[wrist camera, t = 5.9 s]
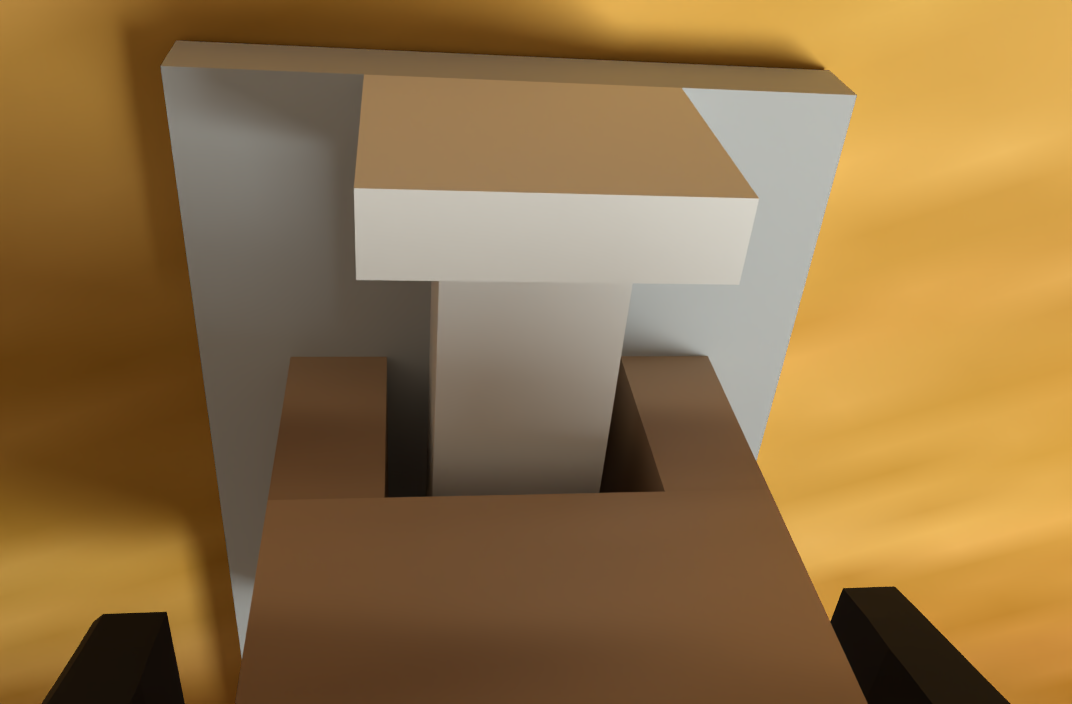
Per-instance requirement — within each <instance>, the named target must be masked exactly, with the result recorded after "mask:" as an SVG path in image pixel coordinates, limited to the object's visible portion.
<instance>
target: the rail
mask: <svg viewBox="0 0 1072 704" xmlns="http://www.w3.org/2000/svg"><path fill="white" fill-rule="evenodd" d="M160 67H161V74H162V81H163V89H164V96H165V103H166V110H167V118H168V125H169V132H170V140H171V147H172V154H173V161H174V169H175V176H176V183H177V191H178V198H179V205H180V212H181V220H182V227H183V234H184V242H185V249H186V256H187V263H188V271H189V278H190V285H191V293H192V300H193V307H194V315H195V322H196V329H197V336H198V344H199V351H200V358H201V366H202V373H203V380H204V387H205V395H206V402H207V409H208V417H209V424H210V431H211V438H212V446H213V453H214V460H215V468H216V475H217V482H218V489H219V497H220V504H221V511H222V519H223V526H224V533H225V541H226V548H227V555H228V562H229V570H230V577H231V584H232V592H233V599H234V606H235V613H236V621H237V628H238V635H239V643H240V650H241V657H242V656H243V650H244V644H245V638H246V631H247V625H248V619H249V613H250V607H251V600H252V594H253V588H254V582H255V575H256V569H257V563H258V557H259V551H260V544H261V538H262V532H263V526H264V520H265V513H266V507H267V501H268V495H269V488H270V482H271V476H272V470H273V464H274V457H275V451H276V445H277V439H278V432H279V426H280V420H281V414H282V408H283V401H284V395H285V389H286V383H287V377H288V370H289V364H290V358H291V357H387V418H388V498H389V497H435V496H481V495H527V494H573V493H599V491H600V485H601V479H602V473H603V466H604V460H605V454H606V448H607V441H608V435H609V429H610V422H611V416H612V410H613V404H614V397H615V391H616V385H617V378H618V372H619V366H620V360H621V356H708V357H709V360H710V362H711V364H712V366H713V368H714V370H715V373H716V375H717V377H718V379H719V381H720V383H721V386H722V388H723V390H724V392H725V394H726V397H727V399H728V401H729V403H730V405H731V407H732V410H733V412H734V414H735V416H736V418H737V420H738V423H739V425H740V427H741V429H742V431H743V433H744V436H745V438H746V440H747V442H748V444H749V447H750V449H751V451H752V453H753V455H754V457H755V460H757V457H758V453H759V449H760V446H761V442H762V438H763V435H764V431H765V428H766V424H767V420H768V417H769V413H770V409H771V406H772V402H773V398H774V395H775V391H776V387H777V384H778V380H779V377H780V373H781V369H782V366H783V362H784V358H785V355H786V351H787V347H788V344H789V340H790V337H791V333H792V329H793V326H794V322H795V318H796V315H797V311H798V307H799V304H800V300H801V297H802V293H803V289H804V286H805V282H806V278H807V275H808V271H809V267H810V264H811V260H812V257H813V253H814V249H815V246H816V242H817V238H818V235H819V231H820V227H821V224H822V220H823V217H824V213H825V209H826V206H827V202H828V198H829V195H830V191H831V187H832V184H833V180H834V177H835V173H836V169H837V166H838V162H839V158H840V155H841V151H842V147H843V144H844V140H845V137H846V133H847V129H848V126H849V122H850V118H851V115H852V111H853V107H854V104H855V100H856V96H857V95H856V94H855V93H854V92H853V91H852V90H850V89H849V88H848V87H847V86H846V85H845V84H844V83H843V82H842V81H840V80H839V79H838V78H837V77H836V76H835V75H834V74H833V73H832V72H830V71H829V70H811V69H789V68H767V67H746V66H724V65H702V64H680V63H658V62H636V61H614V60H592V59H571V58H549V57H527V56H505V55H483V54H461V53H439V52H418V51H396V50H374V49H352V48H330V47H308V46H286V45H264V44H243V43H221V42H199V41H177V40H176V42H175V43H174V45H173V47H172V48H171V50H170V51H169V53H168V55H167V56H166V58H165V59H164V61H163V63H162V64H161V66H160Z"/></svg>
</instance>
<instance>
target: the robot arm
mask: <svg viewBox="0 0 1072 704" xmlns="http://www.w3.org/2000/svg"><path fill="white" fill-rule="evenodd" d="M830 623H831V625H832V627H833V629H834V631H835V634H836V636H837V638H838V640H839V642H840V644H841V647H842V649H843V651H844V653H845V655H846V658H847V660H848V662H849V664H850V666H851V668H852V671H853V673H854V675H855V677H856V679H857V681H858V684H859V686H860V688H861V690H862V692H863V694H864V697H865V699H866V701H867V703H868V704H1010V703H1009V702H1008V701H1007V700H1006V699H1005V698H1004V697H1003V696H1002V695H1001V694H1000V693H999V692H998V691H997V690H996V689H995V688H994V687H993V686H992V685H991V684H990V683H989V682H988V681H987V680H986V679H985V678H984V677H983V676H982V675H981V674H980V673H979V672H978V671H977V670H976V669H975V668H974V667H973V666H972V664H971V663H970V662H969V661H968V660H967V659H966V658H965V657H964V656H963V655H962V654H961V653H960V652H959V651H958V650H957V649H956V648H955V647H954V646H953V645H952V644H951V643H950V642H949V641H948V640H947V639H946V638H945V637H944V636H943V635H942V634H941V633H940V632H939V631H938V630H937V629H936V628H935V627H934V626H933V625H932V624H931V623H930V621H929V620H928V619H927V618H926V617H925V616H924V615H923V614H922V613H921V612H920V611H919V610H918V609H917V608H916V607H915V606H914V605H913V604H912V603H911V602H910V601H909V600H908V599H907V598H906V597H905V596H904V595H903V594H902V593H901V592H900V591H899V590H898V589H897V588H896V587H868V588H843V590H842V593H841V595H840V598H839V601H838V603H837V606H836V609H835V611H834V614H833V616H832V619H831V622H830ZM42 704H185V703H184V698H183V693H182V688H181V683H180V678H179V672H178V667H177V662H176V657H175V652H174V647H173V642H172V637H171V632H170V627H169V621H168V616H167V612H150V613H121V614H103V615H102V616H100V617H99V618H98V619H97V620H95V621H94V622H93V623H92V625H91V627H90V628H89V630H88V632H87V633H86V635H85V636H84V638H83V640H82V641H81V643H80V645H79V646H78V648H77V649H76V651H75V653H74V654H73V656H72V657H71V659H70V660H69V662H68V664H67V665H66V667H65V668H64V670H63V672H62V673H61V675H60V676H59V678H58V679H57V681H56V682H55V684H54V685H53V687H52V688H51V690H50V692H49V693H48V695H47V696H46V698H45V699H44V701H43V702H42Z"/></svg>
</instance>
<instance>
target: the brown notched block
mask: <svg viewBox="0 0 1072 704" xmlns="http://www.w3.org/2000/svg"><path fill="white" fill-rule="evenodd" d="M235 704H868V703H867V701H866V699H865V697H864V694H863V692H862V690H861V688H860V686H859V684H858V681H857V679H856V677H855V675H854V673H853V671H852V668H851V666H850V664H849V662H848V660H847V658H846V655H845V653H844V651H843V649H842V647H841V644H840V642H839V640H838V638H837V636H836V634H835V631H834V629H833V627H832V625H831V623H830V621H829V618H828V616H827V614H826V612H825V610H824V607H823V605H822V603H821V601H820V599H819V597H818V594H817V592H816V590H815V588H814V586H813V584H812V581H811V579H810V577H809V575H808V573H807V571H806V568H805V566H804V564H803V562H802V560H801V557H800V555H799V553H798V551H797V549H796V547H795V544H794V542H793V540H792V538H791V536H790V534H789V531H788V529H787V527H786V525H785V523H784V520H783V518H782V516H781V514H780V512H779V510H778V507H777V505H776V503H775V501H774V499H773V497H772V494H771V492H770V490H769V488H768V486H767V484H766V481H765V479H764V477H763V475H762V473H761V470H760V468H759V466H758V464H757V462H756V460H755V457H754V455H753V453H752V451H751V449H750V447H749V444H748V442H747V440H746V438H745V436H744V433H743V431H742V429H741V427H740V425H739V423H738V420H737V418H736V416H735V414H734V412H733V410H732V407H731V405H730V403H729V401H728V399H727V397H726V394H725V392H724V390H723V388H722V386H721V383H720V381H719V379H718V377H717V375H716V373H715V370H714V368H713V366H712V364H711V362H710V360H709V357H708V356H621V360H620V366H619V372H618V378H617V385H616V391H615V397H614V404H613V410H612V416H611V422H610V429H609V435H608V441H607V448H606V454H605V460H604V466H603V473H602V479H601V485H600V491H599V493H573V494H527V495H481V496H435V497H389V498H388V418H387V357H291V358H290V364H289V370H288V377H287V383H286V389H285V395H284V401H283V408H282V414H281V420H280V426H279V432H278V439H277V445H276V451H275V457H274V464H273V470H272V476H271V482H270V488H269V495H268V501H267V507H266V513H265V520H264V526H263V532H262V538H261V544H260V551H259V557H258V563H257V569H256V575H255V582H254V588H253V594H252V600H251V607H250V613H249V619H248V625H247V631H246V638H245V644H244V650H243V656H242V663H241V669H240V675H239V681H238V687H237V694H236V700H235Z"/></svg>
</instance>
